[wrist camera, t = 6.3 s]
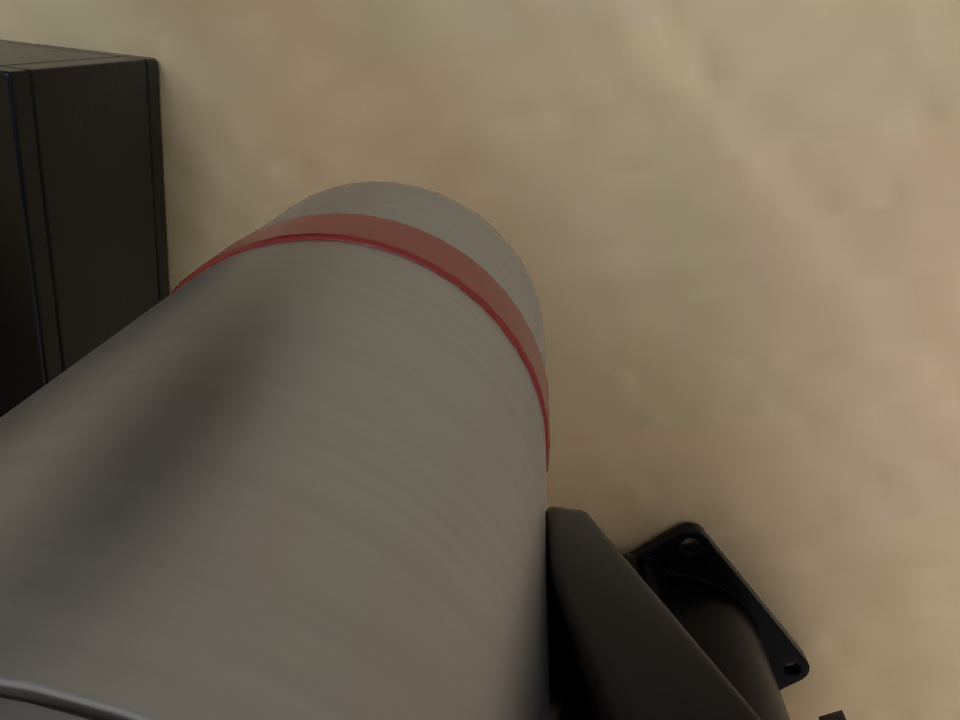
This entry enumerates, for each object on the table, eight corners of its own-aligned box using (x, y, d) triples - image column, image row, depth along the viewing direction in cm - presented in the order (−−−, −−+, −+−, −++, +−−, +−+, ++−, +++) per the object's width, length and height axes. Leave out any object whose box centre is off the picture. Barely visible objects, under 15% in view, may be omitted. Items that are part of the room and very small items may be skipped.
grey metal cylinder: (612, 366, 13) (786, 1183, 4) (376, 527, 15) (96, 1384, 5) (400, 103, 12) (-125, 395, 2) (164, 313, 13) (-695, 969, 4)
